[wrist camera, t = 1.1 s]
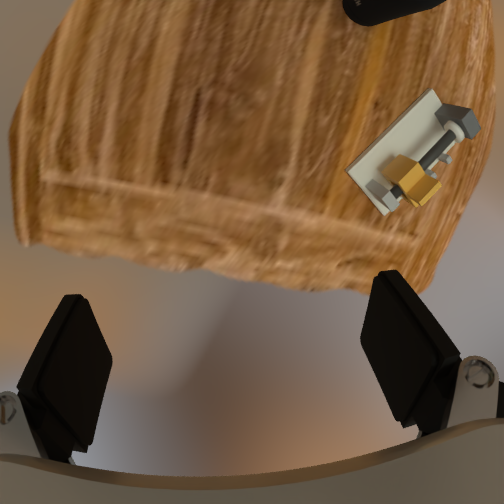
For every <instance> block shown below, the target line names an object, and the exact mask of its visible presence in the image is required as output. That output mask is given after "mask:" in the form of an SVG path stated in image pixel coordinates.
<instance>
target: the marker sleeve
mask: <svg viewBox="0 0 504 504" xmlns="http://www.w3.org/2000/svg"><path fill="white" fill-rule="evenodd" d="M381 173H382V174H383V175H384V177H385V178H386V179H387V180H388V182H389V183H390V184H391V186H392V187H393V186H394V185H395V184H397V185H398V186H399V187H400V188H401V190H402V191H403V194H402V195H401V196H400V197H401V198H403V199H404V200H406V201H407V202H408V203H410V204H411V205H413V206H414V207H415V208H416V207H417V206H418V205H420V206H423V205H424V204H425V203H426V202H427V201H428V200H429V199H430V198H431V197H432V195H433V194H434V193H435V192H436V191H437V190H438V189H439V188H440V187H441V186H442V185H441V183H440V181H438V180H436V179H435V178H433V177H431V176H429V175H427V174H425V172H424V170H423V169H422V167H421V166H420V164H419V163H418V162H417V161H414V160H412V159H410V158H408V157H406V156H403V155H401V154H399V155H398V156H397V157H396V158H395V159H394V160H393V161H392V162H391V163H390V164H389V165H388V166H387V167H386V168H385V169H384V170H383V171H382V172H381Z"/></svg>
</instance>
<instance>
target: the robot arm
mask: <svg viewBox="0 0 504 504" xmlns="http://www.w3.org/2000/svg"><path fill="white" fill-rule="evenodd" d="M360 339H361V345H362V348H363V350H364V352H365V354H366V356H367V358H368V360H369V363H370V364H371V367H372V369H373V371H374V373H375V375H376V378H377V380H378V382H379V384H380V386H381V389H382V391H383V393H384V395H385V397H386V400H387V402H388V405H389V407H390V409H391V411H392V414H393V416H394V418H395V420H396V421H400V422H401V425H402V427H403V428H406V427H409V426H412V425H415V424H417V426H418V428H419V433H418V435H417V438H416V439H415V440H412V441H409V442H406V443H403V444H400V445H397V446H394V447H390V448H387V449H383V450H380V451H377V452H373V453H369V454H366V455H362V456H358V457H354V458H350V459H345V460H342V461H337V462H332V463H327V464H322V465H317V466H311V467H306V468H299V469H293V470H286V471H279V472H270V473H261V474H250V475H236V476H212V477H210V476H208V477H185V476H158V475H144V474H132V473H124V472H115V471H108V470H102V469H95V468H89V467H82V466H77V465H76V464H75V462H74V460H73V459H72V457H71V455H72V451H79V452H84V453H87V450H88V445H91V444H92V442H93V439H94V434H95V430H96V425H97V421H98V417H99V412H100V409H101V405H102V401H103V397H104V393H105V389H106V385H107V382H108V378H109V374H110V371H111V367H112V355H111V353H110V351H109V349H108V346H107V344H106V342H105V340H104V337H103V335H102V333H101V331H100V328H99V326H98V324H97V322H96V319H95V317H94V314H93V312H92V309H91V306H90V304H89V302H88V300H87V299H85V298H84V297H83V296H82V295H81V294H72V295H65V296H64V297H63V299H62V300H61V302H60V304H59V305H58V307H57V309H56V311H55V312H54V314H53V316H52V317H51V319H50V321H49V323H48V325H47V327H46V328H45V330H44V332H43V334H42V336H41V338H40V339H39V342H38V344H37V345H36V347H35V349H34V351H33V353H32V355H31V357H30V359H29V361H28V363H27V365H26V367H25V369H24V371H23V374H22V376H21V378H20V380H19V382H18V384H17V388H18V390H19V392H18V394H17V395H16V394H15V393H13V392H10V391H5V392H2V393H0V504H504V383H503V382H500V381H499V376H498V372H497V370H496V368H495V367H494V365H493V364H492V363H491V362H490V361H488V360H487V359H485V358H483V357H480V356H469V357H467V358H465V359H464V360H463V361H462V359H461V358H460V352H459V350H458V349H457V348H456V346H455V345H454V343H453V342H452V341H451V339H450V338H449V336H448V335H447V334H446V332H445V331H444V329H443V328H442V327H441V325H440V324H439V323H438V321H437V320H436V319H435V317H434V316H433V315H432V313H431V312H430V311H429V310H428V308H427V307H426V305H425V304H424V303H423V302H422V300H421V299H420V298H419V297H418V295H417V294H416V293H415V291H414V290H413V289H412V288H411V286H410V285H409V284H408V283H407V281H406V280H405V279H404V278H403V277H402V275H401V274H400V273H399V272H398V271H397V270H388V271H381V272H379V274H378V276H376V277H374V279H373V284H372V289H371V293H370V298H369V303H368V307H367V311H366V315H365V320H364V324H363V328H362V332H361V336H360Z"/></svg>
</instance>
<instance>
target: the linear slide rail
mask: <svg viewBox="0 0 504 504" xmlns="http://www.w3.org/2000/svg"><path fill="white" fill-rule="evenodd" d="M480 129H481V127H480V125H479V123H478V121H477V119H476V117H475V115H474V113H473V111H472V109H470V108H465V107H460V106H455V105H450V104H443V105H442V103H441V102H440V100H439V98H438V97H437V95H436V94H435V92H434V91H433V89H430V88H428V89H427V90H426V91H425V92H424V93H423V94H422V95H421V96H420V97H419V98H418V99H417V100H416V101H415V102H414V103H413V104H412V105H411V106H410V107H409V108H407V109H406V110H405V111H404V112H403V113H402V114H401V115H400V116H399V117H398V118H397V119H396V120H395V121H394V122H393V123H392V124H391V125H390V126H389V127H388V128H387V129H386V130H385V131H384V132H383V133H382V134H381V135H380V136H379V137H378V138H377V139H376V140H375V141H374V142H373V143H372V144H371V145H370V146H369V147H368V148H367V149H366V150H365V151H364V152H363V153H362V154H361V155H360V156H359V157H358V158H357V159H356V160H354V161H353V162H352V163H351V164H350V165H349V166H348V167H347V168H346V169H345V171H346V172H347V173H348V174H349V175H350V177H351V178H352V179H353V180H354V181H355V182H356V183H357V185H358V186H359V187H360V188H361V189H362V191H363V192H364V193H365V194H366V195H367V196H368V198H369V199H370V200H371V201H372V203H373V204H374V205H375V206H376V207H377V209H378V210H379V211H380V212H381V213H382V214H383V215H384V216H385V215H386V214H387V213H388V212H389V211H391V212H393V211H394V210H395V209H396V208H397V207H398V206H399V205H400V204H399V203H398V202H399V201H400V200H401V199H402V198H401V197H400V196H401V195H402V194H403V191H402V190H401V188H400V187H399V186H398V185H397V184H395V185H394V186H393V187H392V186H391V184H390V183H389V182H388V180H387V179H386V178H385V177H384V175H383V174H382V173H381V172H382V171H383V170H384V169H385V168H386V167H387V166H388V165H389V164H390V163H391V162H392V161H393V160H394V159H395V158H396V157H397V156H398V155H399V154H401V155H403V156H406V157H408V158H410V159H412V160H414V161H417V162H418V163H419V164H420V166H421V167H422V169H423V170H424V172H425V174H427V175H429V176H431V177H433V178H435V179H436V177H437V176H436V174H435V172H433V171H431V170H430V169H431V168H432V167H433V166H434V165H435V164H436V163H437V162H438V161H439V160H440V161H442V162H444V163H447V164H450V162H451V161H452V159H451V157H450V156H449V155H447V154H446V152H447V151H448V150H449V149H450V148H451V147H452V146H453V145H454V144H455V143H456V142H457V143H460V142H461V141H462V140H463V139H464V137H466V138H469V139H473V137H474V136H475V135H476V134H477V133H478V132H479V130H480Z"/></svg>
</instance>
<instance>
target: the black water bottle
mask: <svg viewBox="0 0 504 504" xmlns="http://www.w3.org/2000/svg"><path fill="white" fill-rule="evenodd" d="M444 1H446V0H343V8H344V10H345V12H346V14H347V15H348V16H349V17H350V19H352V20H353V21H354V22H356V23H358V24H360V25H363V26H374V25H377V24H380V23H383V22H386V21H389V20H392V19H396V18H399V17H402V16H406V15H409V14H413V13H417V12H420V11H424V10H428V9H432V8H434V7H436V6H437V5H439V4H441V3H443V2H444Z"/></svg>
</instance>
